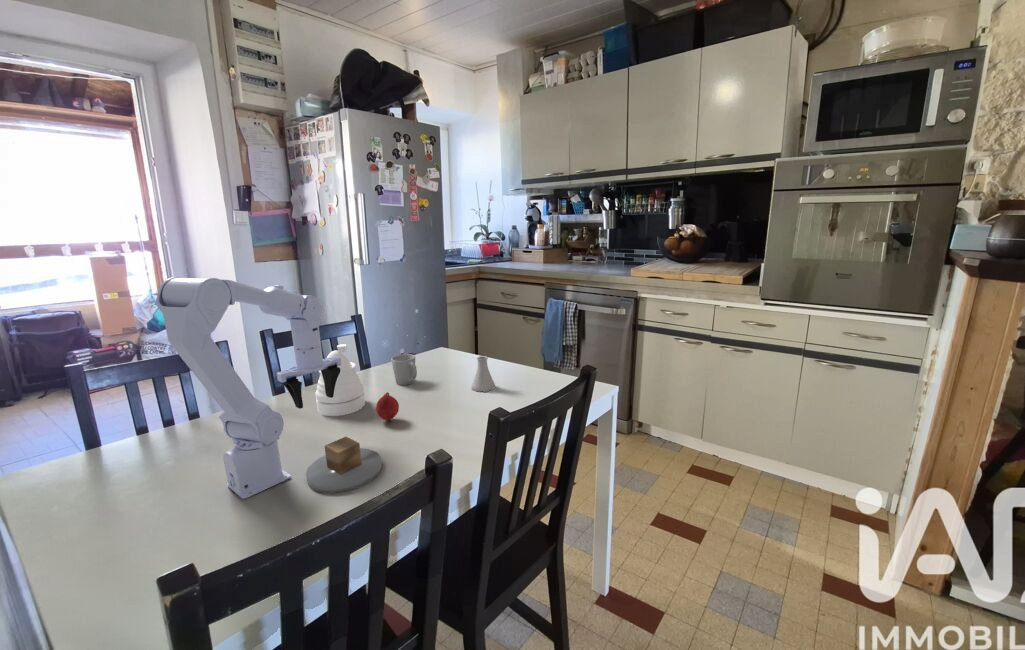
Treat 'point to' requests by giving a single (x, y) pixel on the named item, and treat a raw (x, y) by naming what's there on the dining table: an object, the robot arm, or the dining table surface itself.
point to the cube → (343, 455)
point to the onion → (387, 407)
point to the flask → (483, 376)
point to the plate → (334, 482)
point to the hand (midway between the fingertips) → (315, 401)
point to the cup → (404, 368)
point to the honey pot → (341, 389)
